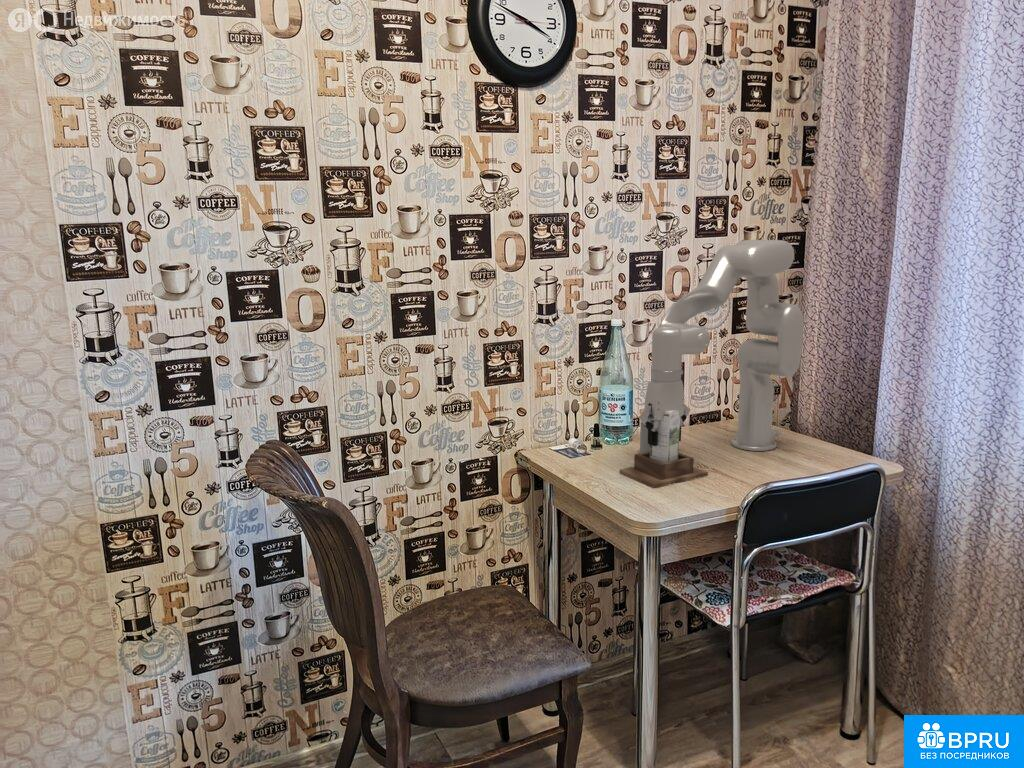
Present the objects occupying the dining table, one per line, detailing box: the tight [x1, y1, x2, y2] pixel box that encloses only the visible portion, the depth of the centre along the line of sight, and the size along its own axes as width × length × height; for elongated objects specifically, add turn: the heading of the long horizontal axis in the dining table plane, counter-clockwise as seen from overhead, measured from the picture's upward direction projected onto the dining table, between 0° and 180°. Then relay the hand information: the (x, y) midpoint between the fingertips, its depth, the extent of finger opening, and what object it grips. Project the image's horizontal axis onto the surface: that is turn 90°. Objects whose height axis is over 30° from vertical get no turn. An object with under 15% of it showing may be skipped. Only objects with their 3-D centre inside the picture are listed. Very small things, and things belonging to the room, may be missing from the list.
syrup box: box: [649, 410, 680, 463], centre depth 196 cm, size 6×6×14 cm
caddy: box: [619, 452, 709, 489], centre depth 198 cm, size 18×14×5 cm
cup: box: [639, 418, 650, 453], centre depth 213 cm, size 8×8×10 cm
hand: (664, 442), depth 196 cm, fingers closed on syrup box, 7 cm apart
